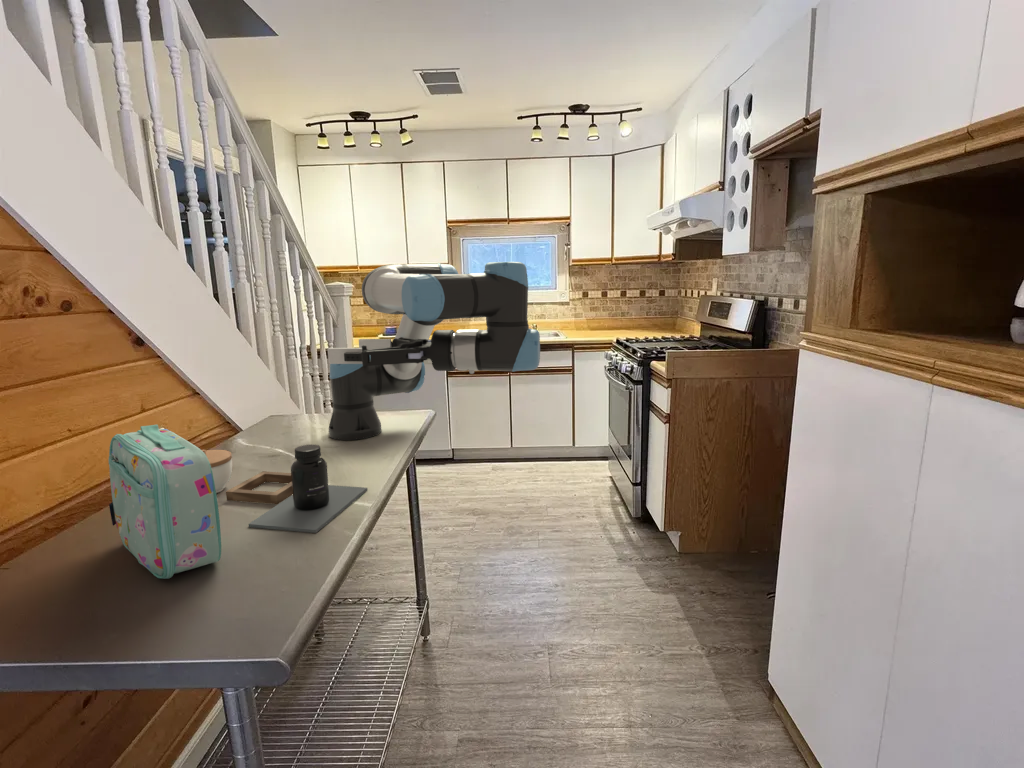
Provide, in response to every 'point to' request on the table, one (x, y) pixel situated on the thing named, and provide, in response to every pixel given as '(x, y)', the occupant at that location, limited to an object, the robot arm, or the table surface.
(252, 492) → the walnut collar
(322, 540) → the table surface
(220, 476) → the lidded jar
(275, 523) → the slate mat
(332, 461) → the table surface
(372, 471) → the table surface
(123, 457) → the lunch box
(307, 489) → the supplement bottle
